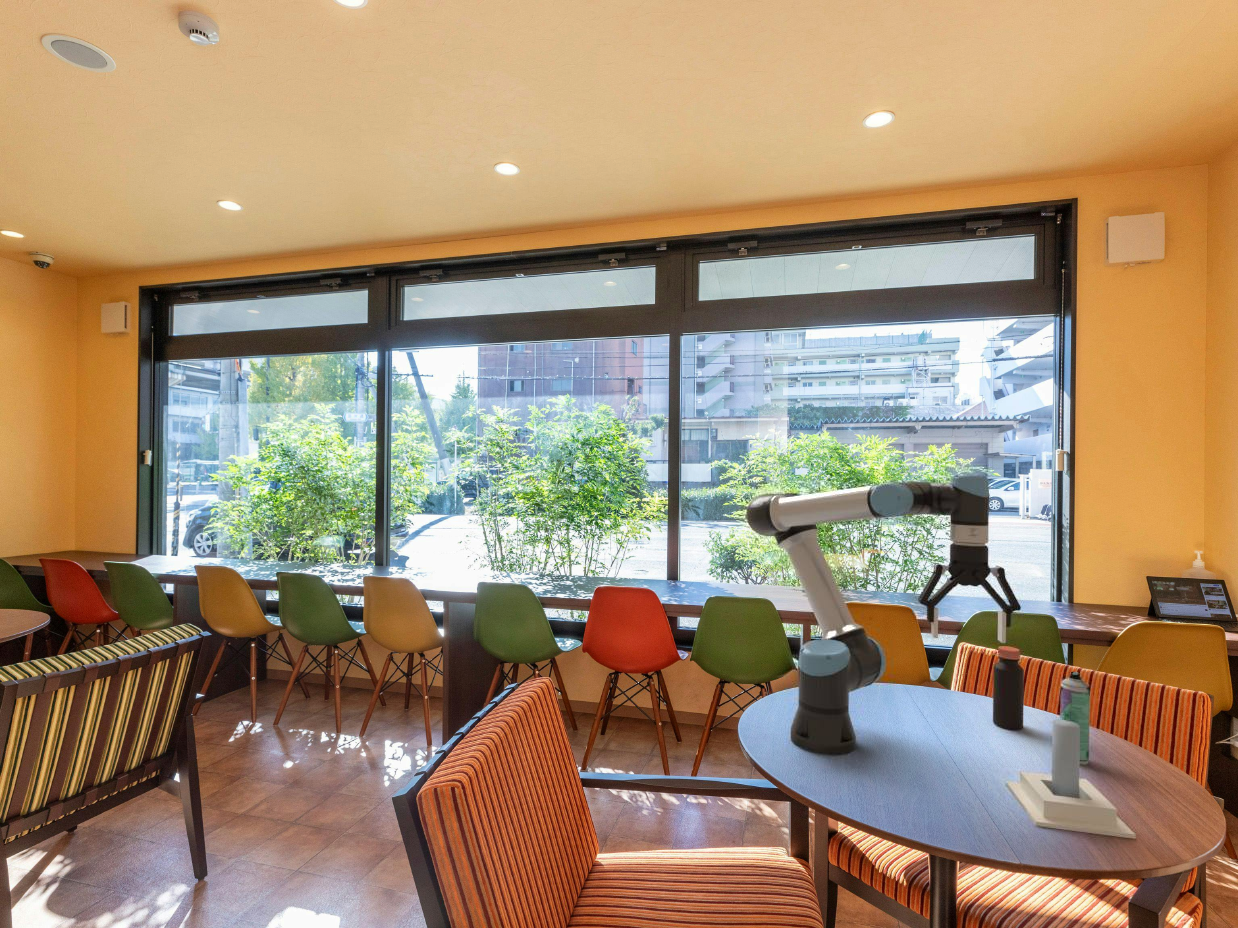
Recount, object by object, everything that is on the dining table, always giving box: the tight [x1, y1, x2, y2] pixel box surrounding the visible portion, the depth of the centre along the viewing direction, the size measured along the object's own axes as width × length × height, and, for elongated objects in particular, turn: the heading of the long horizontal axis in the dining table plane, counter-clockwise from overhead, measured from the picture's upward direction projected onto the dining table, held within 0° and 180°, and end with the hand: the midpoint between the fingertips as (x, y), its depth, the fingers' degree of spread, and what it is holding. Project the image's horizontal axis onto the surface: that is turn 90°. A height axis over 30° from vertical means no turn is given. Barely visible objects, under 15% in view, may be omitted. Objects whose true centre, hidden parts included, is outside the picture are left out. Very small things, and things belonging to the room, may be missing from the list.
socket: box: [1005, 771, 1136, 840], centre depth 125 cm, size 16×16×4 cm
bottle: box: [992, 645, 1025, 731], centre depth 167 cm, size 7×7×20 cm
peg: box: [1051, 719, 1081, 798], centre depth 125 cm, size 4×4×16 cm
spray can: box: [1059, 671, 1091, 766], centre depth 148 cm, size 6×6×20 cm
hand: (967, 639), depth 142 cm, fingers open, 13 cm apart
